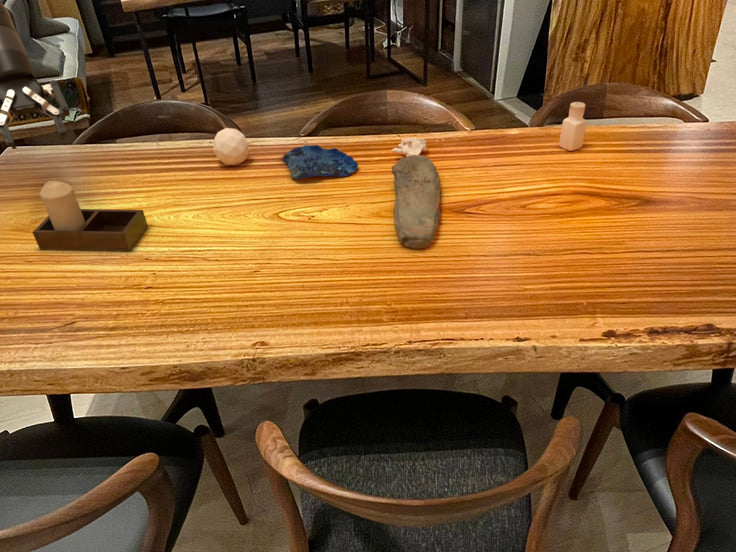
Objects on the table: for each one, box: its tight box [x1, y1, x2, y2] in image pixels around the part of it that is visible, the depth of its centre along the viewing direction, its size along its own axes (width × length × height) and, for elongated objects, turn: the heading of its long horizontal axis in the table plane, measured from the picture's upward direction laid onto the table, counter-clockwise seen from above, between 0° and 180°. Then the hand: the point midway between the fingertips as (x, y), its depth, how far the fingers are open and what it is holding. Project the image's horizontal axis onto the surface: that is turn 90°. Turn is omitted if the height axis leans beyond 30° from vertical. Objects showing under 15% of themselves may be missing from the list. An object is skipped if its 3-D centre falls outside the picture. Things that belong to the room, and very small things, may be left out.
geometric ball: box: [212, 127, 249, 166], centre depth 138 cm, size 8×8×8 cm
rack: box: [32, 208, 149, 252], centre depth 116 cm, size 17×9×4 cm, turn 85°
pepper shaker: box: [558, 101, 588, 152], centre depth 138 cm, size 4×4×10 cm
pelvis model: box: [391, 136, 428, 158], centre depth 140 cm, size 8×4×7 cm
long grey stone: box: [391, 154, 442, 249], centre depth 122 cm, size 35×5×10 cm
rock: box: [282, 144, 359, 180], centre depth 138 cm, size 15×17×2 cm
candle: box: [39, 180, 85, 231], centre depth 114 cm, size 6×6×10 cm
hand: (38, 142), depth 115 cm, fingers open, 8 cm apart
